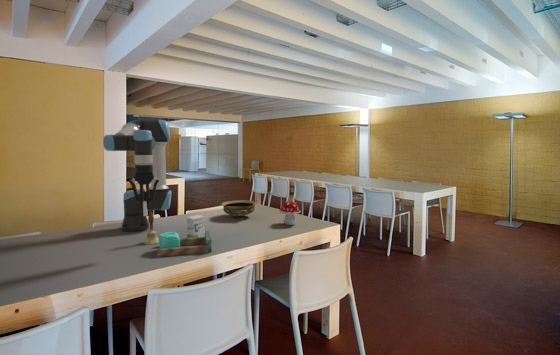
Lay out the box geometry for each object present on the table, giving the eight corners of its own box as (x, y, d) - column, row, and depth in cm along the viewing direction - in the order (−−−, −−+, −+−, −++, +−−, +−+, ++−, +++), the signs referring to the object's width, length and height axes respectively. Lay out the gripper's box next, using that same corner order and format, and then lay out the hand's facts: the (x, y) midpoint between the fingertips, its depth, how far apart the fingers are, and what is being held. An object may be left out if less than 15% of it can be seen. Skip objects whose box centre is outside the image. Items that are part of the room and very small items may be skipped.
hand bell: (143, 245, 159) (142, 214, 158) (143, 240, 167) (142, 210, 165) (161, 243, 163) (160, 212, 161) (160, 239, 170) (159, 209, 169)
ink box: (198, 235, 178) (198, 214, 177) (205, 236, 175) (204, 215, 174) (186, 239, 171) (186, 217, 170) (193, 240, 168) (193, 218, 167)
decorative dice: (180, 251, 151) (179, 234, 150) (162, 254, 147) (162, 237, 146) (175, 246, 158) (175, 231, 157) (158, 249, 153) (158, 233, 153)
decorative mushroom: (294, 220, 215) (294, 198, 213) (304, 225, 202) (304, 201, 201) (275, 222, 209) (275, 199, 207) (284, 227, 196) (285, 203, 195)
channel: (157, 256, 143) (156, 243, 143) (159, 246, 158) (159, 234, 158) (211, 252, 150) (211, 239, 150) (208, 242, 165) (208, 230, 165)
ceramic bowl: (218, 213, 234) (218, 200, 233) (250, 211, 242) (250, 198, 241) (225, 223, 206) (225, 208, 205) (261, 220, 214) (261, 206, 213)
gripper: (126, 164, 140) (128, 217, 142) (158, 164, 144) (160, 216, 146) (129, 164, 147) (131, 214, 149) (159, 163, 151) (161, 213, 153)
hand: (145, 215), depth 147 cm, fingers closed
